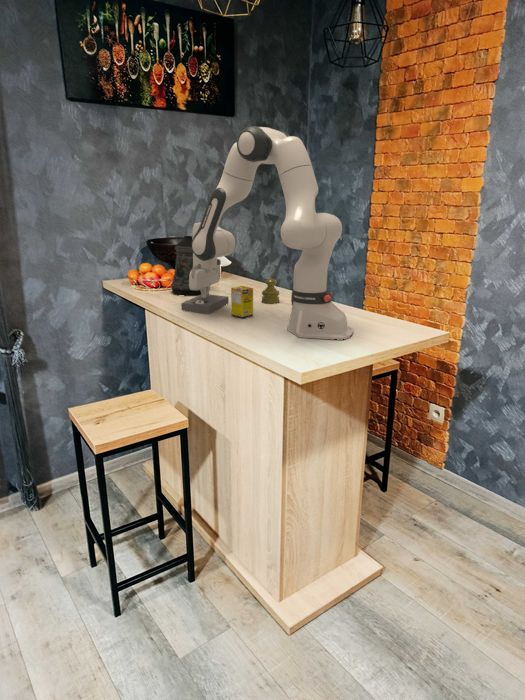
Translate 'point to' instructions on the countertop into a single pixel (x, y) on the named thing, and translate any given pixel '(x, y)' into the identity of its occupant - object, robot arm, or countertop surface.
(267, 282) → the olive tiered figure
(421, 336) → the countertop surface
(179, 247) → the beer stein
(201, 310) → the hole board
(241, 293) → the supplement box
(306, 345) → the countertop surface
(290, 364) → the countertop surface
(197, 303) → the steel ball
